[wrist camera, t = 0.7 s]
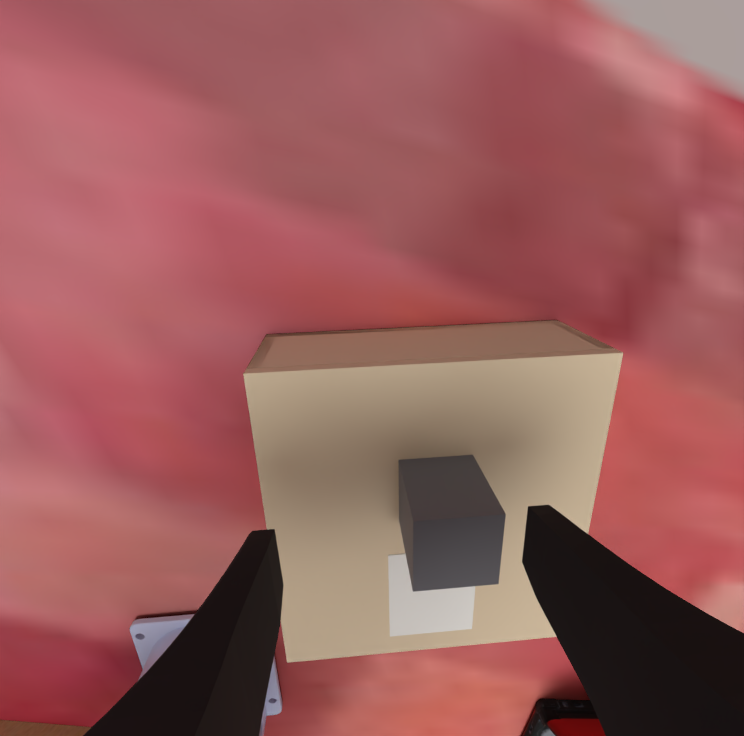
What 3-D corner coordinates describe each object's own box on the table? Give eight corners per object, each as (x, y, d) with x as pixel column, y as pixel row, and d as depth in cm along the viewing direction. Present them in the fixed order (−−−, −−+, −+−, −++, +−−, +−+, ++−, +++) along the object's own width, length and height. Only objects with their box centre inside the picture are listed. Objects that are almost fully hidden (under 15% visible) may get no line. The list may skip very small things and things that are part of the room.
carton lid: (563, 626, 21) (610, 714, 18) (288, 652, 20) (277, 750, 17) (615, 348, 16) (699, 390, 12) (246, 368, 15) (216, 419, 11)
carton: (525, 557, 26) (562, 625, 21) (297, 576, 25) (288, 651, 20) (556, 319, 20) (614, 348, 16) (266, 334, 19) (246, 368, 15)
